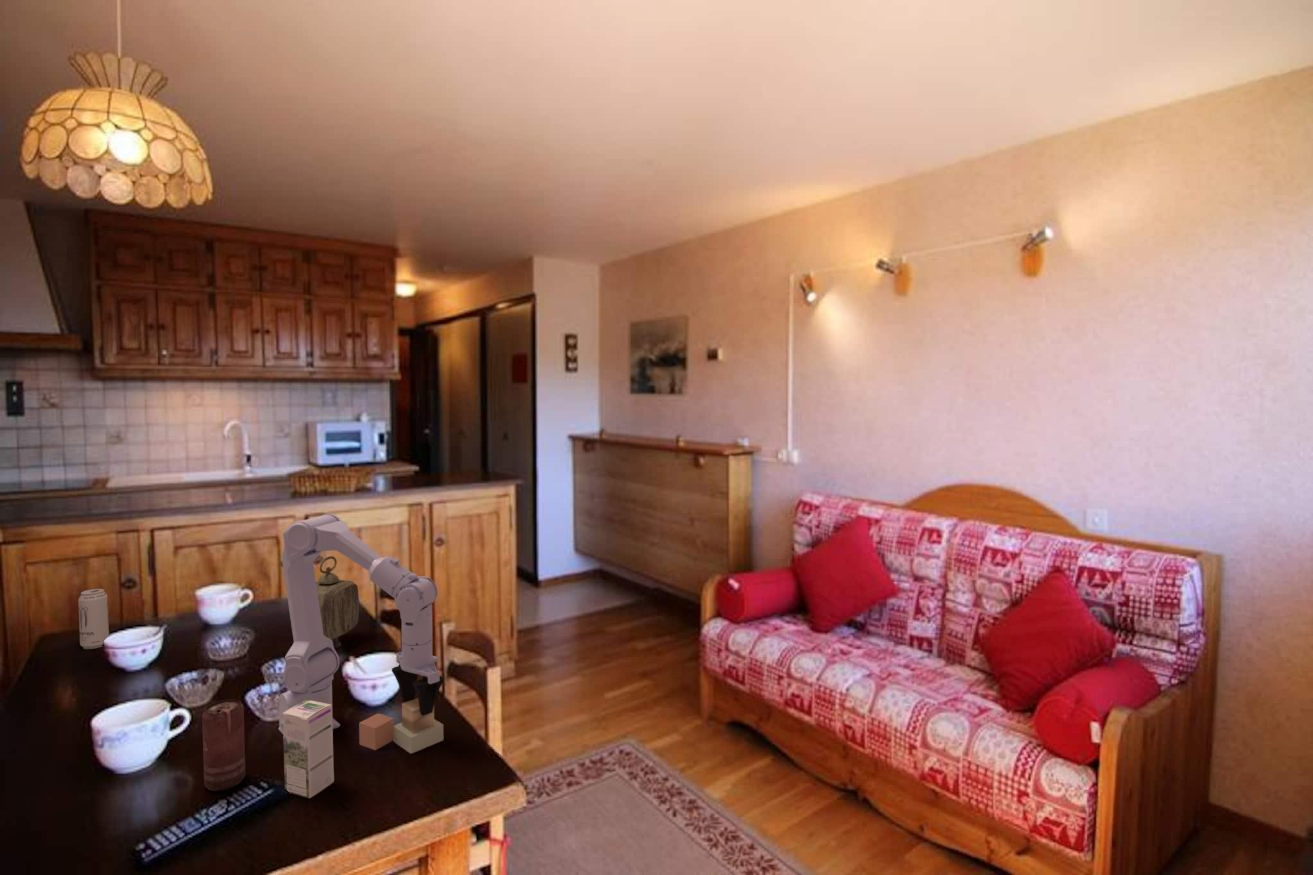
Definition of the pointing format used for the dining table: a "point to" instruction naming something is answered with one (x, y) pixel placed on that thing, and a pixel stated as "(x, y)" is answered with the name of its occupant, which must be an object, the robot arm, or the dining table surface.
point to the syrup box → (308, 748)
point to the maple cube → (415, 717)
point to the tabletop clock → (337, 603)
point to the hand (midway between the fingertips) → (417, 706)
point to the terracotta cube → (376, 731)
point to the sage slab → (417, 737)
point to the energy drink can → (93, 618)
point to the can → (223, 744)
